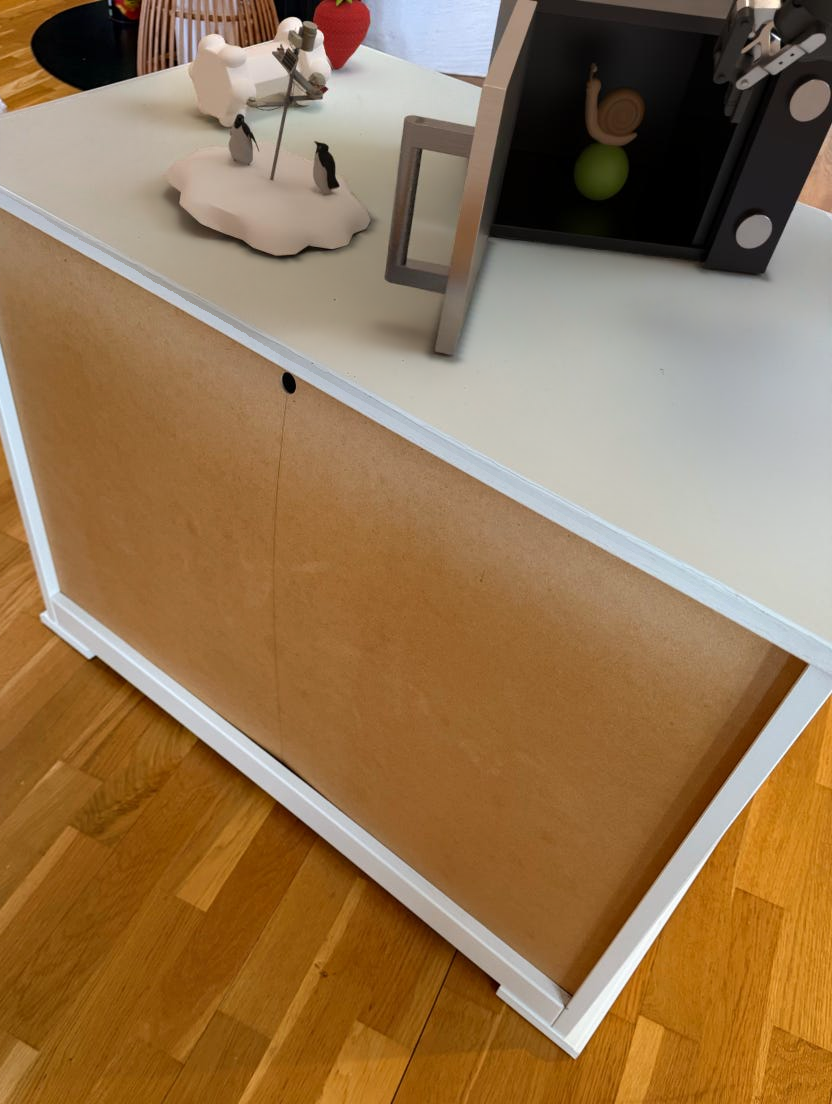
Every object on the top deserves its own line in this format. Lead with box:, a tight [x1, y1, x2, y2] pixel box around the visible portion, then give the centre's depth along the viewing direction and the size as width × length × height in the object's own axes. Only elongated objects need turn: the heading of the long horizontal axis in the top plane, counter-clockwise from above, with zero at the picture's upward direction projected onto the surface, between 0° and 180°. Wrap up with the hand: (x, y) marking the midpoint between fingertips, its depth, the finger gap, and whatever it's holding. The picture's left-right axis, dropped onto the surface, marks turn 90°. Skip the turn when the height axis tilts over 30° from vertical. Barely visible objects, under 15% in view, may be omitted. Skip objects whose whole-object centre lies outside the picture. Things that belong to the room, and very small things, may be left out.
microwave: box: [487, 0, 832, 275], centre depth 89 cm, size 22×28×20 cm
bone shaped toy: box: [187, 16, 332, 128], centre depth 102 cm, size 15×9×8 cm, turn 137°
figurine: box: [163, 20, 371, 256], centre depth 83 cm, size 20×18×16 cm
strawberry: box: [312, 0, 371, 70], centre depth 113 cm, size 6×8×10 cm
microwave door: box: [384, 0, 537, 356], centre depth 75 cm, size 7×22×20 cm, turn 167°
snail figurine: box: [573, 63, 645, 200], centre depth 91 cm, size 5×6×12 cm
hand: (790, 112), depth 72 cm, fingers open, 8 cm apart
